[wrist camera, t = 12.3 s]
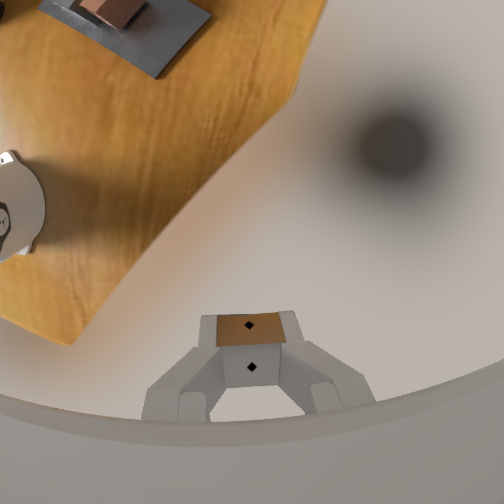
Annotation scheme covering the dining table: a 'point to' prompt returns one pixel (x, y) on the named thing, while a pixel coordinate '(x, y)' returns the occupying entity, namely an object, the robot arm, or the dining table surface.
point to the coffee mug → (1, 9)
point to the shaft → (113, 10)
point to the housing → (137, 30)
